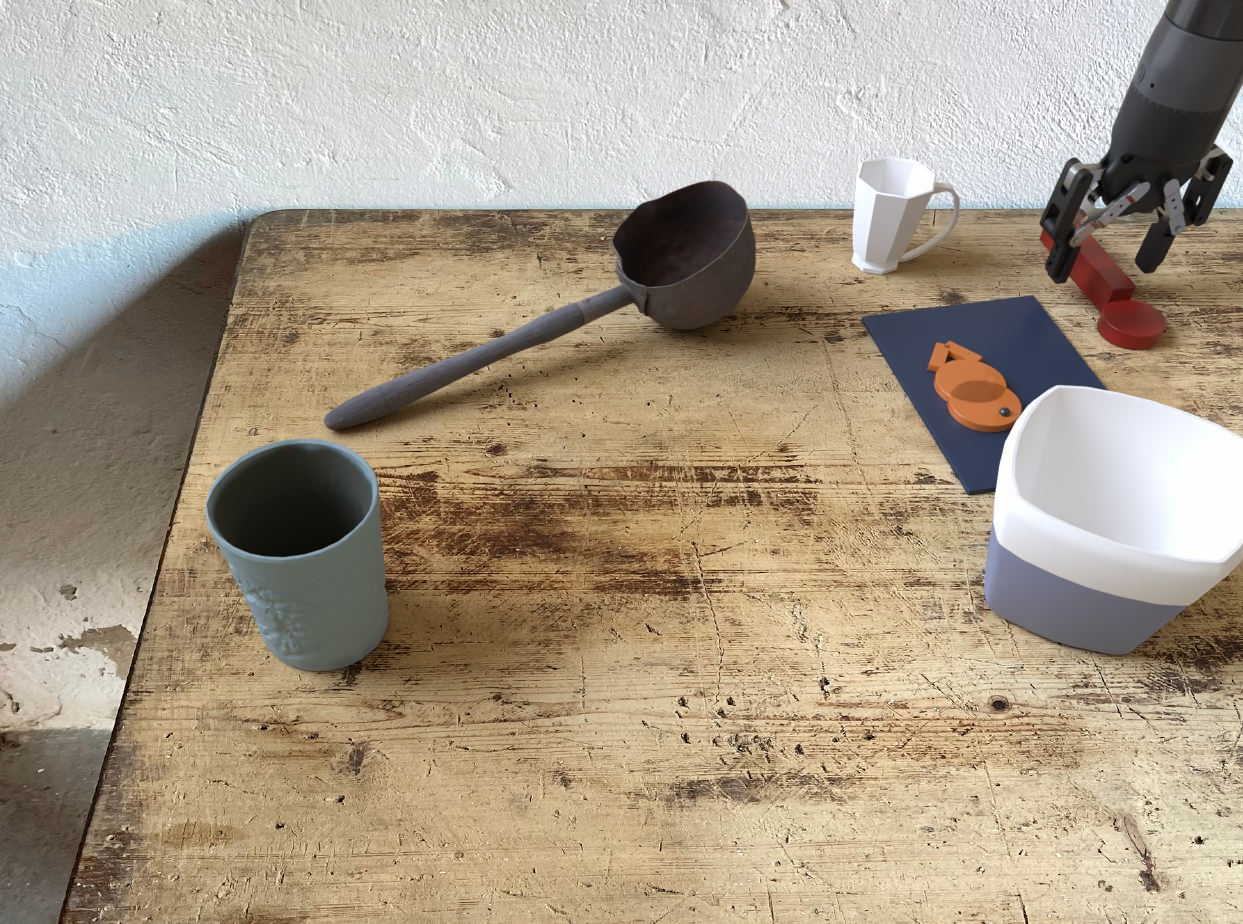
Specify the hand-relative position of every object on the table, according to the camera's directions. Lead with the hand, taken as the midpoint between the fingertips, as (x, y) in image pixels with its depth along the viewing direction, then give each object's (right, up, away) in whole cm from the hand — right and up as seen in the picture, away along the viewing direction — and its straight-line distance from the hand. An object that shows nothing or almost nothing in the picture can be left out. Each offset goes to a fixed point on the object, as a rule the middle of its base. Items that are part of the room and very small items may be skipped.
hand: (1099, 273), depth 98 cm
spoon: (+1, -2, +1) cm, 2 cm away
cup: (-17, +3, +4) cm, 18 cm away
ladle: (-49, -9, -5) cm, 50 cm away
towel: (-11, -12, -7) cm, 17 cm away
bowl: (-12, -29, -19) cm, 37 cm away
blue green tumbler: (-63, -32, -22) cm, 74 cm away
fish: (-14, -12, -7) cm, 20 cm away
